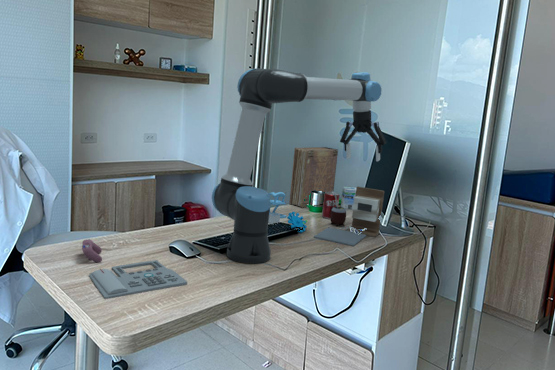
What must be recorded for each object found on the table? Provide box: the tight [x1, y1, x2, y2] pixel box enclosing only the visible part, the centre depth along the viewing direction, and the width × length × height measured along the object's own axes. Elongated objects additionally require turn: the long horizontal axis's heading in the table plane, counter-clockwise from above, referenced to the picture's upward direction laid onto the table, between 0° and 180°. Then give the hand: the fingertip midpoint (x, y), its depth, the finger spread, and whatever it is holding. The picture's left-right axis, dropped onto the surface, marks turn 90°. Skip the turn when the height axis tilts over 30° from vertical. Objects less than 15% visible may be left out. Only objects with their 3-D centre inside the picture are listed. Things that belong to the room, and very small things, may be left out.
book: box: [288, 146, 339, 209], centre depth 252 cm, size 25×9×30 cm, turn 136°
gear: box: [286, 211, 308, 234], centre depth 202 cm, size 11×6×10 cm
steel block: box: [268, 211, 281, 225], centre depth 210 cm, size 5×5×4 cm
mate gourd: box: [330, 191, 347, 228], centre depth 215 cm, size 8×8×15 cm
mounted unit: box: [347, 186, 385, 238], centre depth 205 cm, size 8×12×19 cm, turn 64°
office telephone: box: [89, 259, 188, 300], centre depth 137 cm, size 23×3×20 cm
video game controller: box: [81, 238, 103, 263], centre depth 149 cm, size 10×5×7 cm, turn 21°
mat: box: [313, 226, 367, 247], centre depth 197 cm, size 18×17×1 cm
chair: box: [268, 191, 287, 219], centre depth 221 cm, size 8×8×12 cm
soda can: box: [321, 191, 340, 220], centre depth 227 cm, size 7×7×12 cm
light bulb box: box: [340, 186, 356, 210], centre depth 252 cm, size 11×7×11 cm, turn 95°
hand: (363, 159), depth 204 cm, fingers open, 13 cm apart
